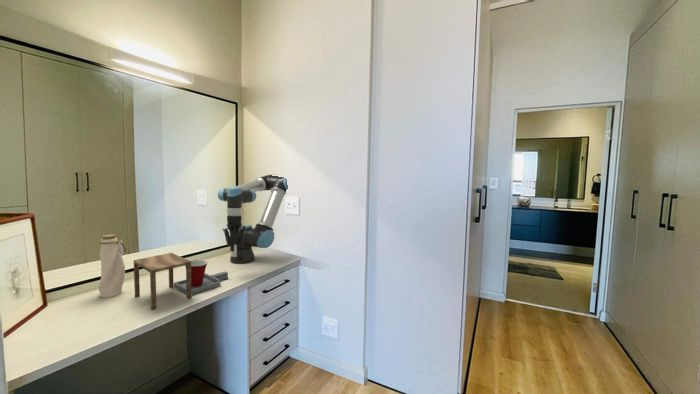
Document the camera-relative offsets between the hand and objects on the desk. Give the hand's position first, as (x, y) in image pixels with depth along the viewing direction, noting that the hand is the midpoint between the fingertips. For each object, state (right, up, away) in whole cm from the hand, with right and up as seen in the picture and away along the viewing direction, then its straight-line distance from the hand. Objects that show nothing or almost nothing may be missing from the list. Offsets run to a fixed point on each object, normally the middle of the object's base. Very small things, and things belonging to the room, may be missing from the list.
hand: (234, 256), depth 162 cm
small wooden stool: (-22, -13, -28) cm, 38 cm away
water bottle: (-46, -12, -26) cm, 55 cm away
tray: (-10, -12, -12) cm, 20 cm away
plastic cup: (-13, -12, -15) cm, 23 cm away
